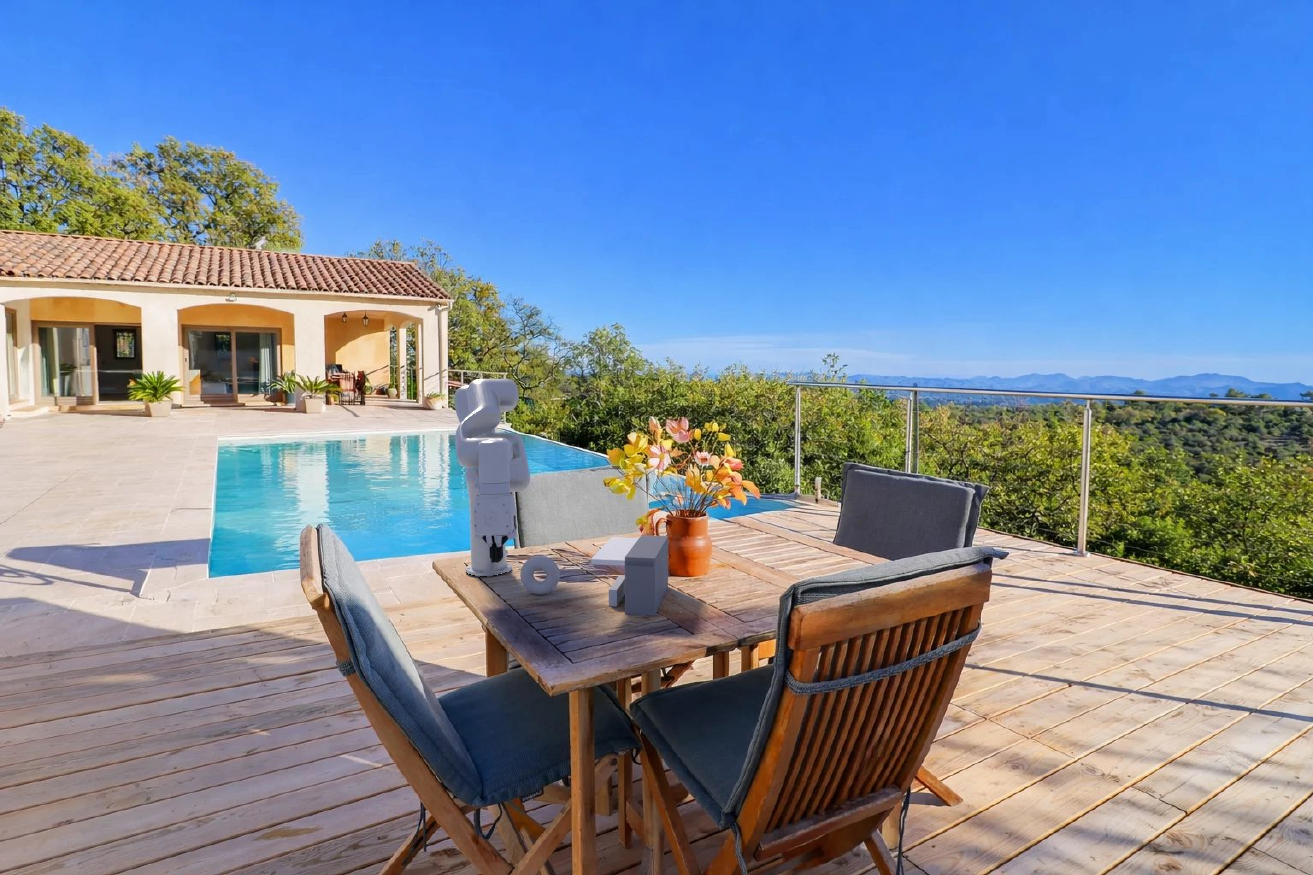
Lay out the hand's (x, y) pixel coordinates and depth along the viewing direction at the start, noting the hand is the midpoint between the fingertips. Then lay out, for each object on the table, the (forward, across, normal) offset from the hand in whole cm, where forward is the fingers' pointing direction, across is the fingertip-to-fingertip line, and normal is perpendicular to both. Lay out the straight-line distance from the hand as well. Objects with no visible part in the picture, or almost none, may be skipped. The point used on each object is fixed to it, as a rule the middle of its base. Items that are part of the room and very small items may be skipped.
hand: (496, 561), depth 178 cm
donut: (+9, +11, +1) cm, 14 cm away
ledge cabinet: (+9, +34, +1) cm, 35 cm away
